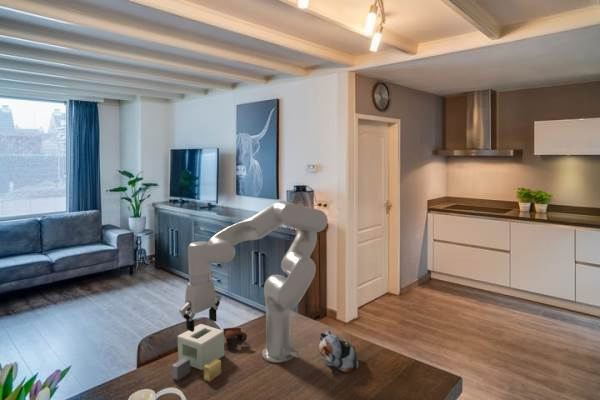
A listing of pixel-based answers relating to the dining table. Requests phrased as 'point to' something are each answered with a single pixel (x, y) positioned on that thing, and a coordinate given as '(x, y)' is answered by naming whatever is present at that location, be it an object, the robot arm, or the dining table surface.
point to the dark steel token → (180, 369)
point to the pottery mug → (234, 337)
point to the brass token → (212, 369)
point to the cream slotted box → (201, 345)
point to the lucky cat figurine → (338, 352)
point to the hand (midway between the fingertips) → (202, 325)
